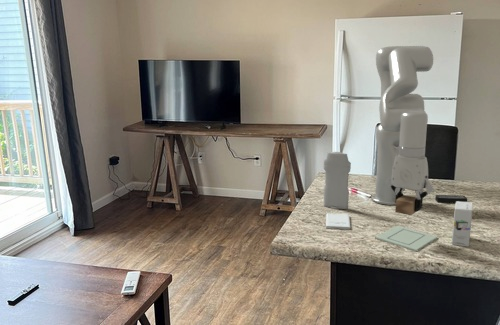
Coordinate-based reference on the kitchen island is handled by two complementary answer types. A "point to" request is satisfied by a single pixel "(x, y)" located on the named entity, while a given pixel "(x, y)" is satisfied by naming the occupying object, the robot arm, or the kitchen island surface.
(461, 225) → the ink box
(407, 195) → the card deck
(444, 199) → the multiport hub
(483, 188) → the kitchen island surface
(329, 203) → the tall pale column
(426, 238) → the mat
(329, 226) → the external hard drive
